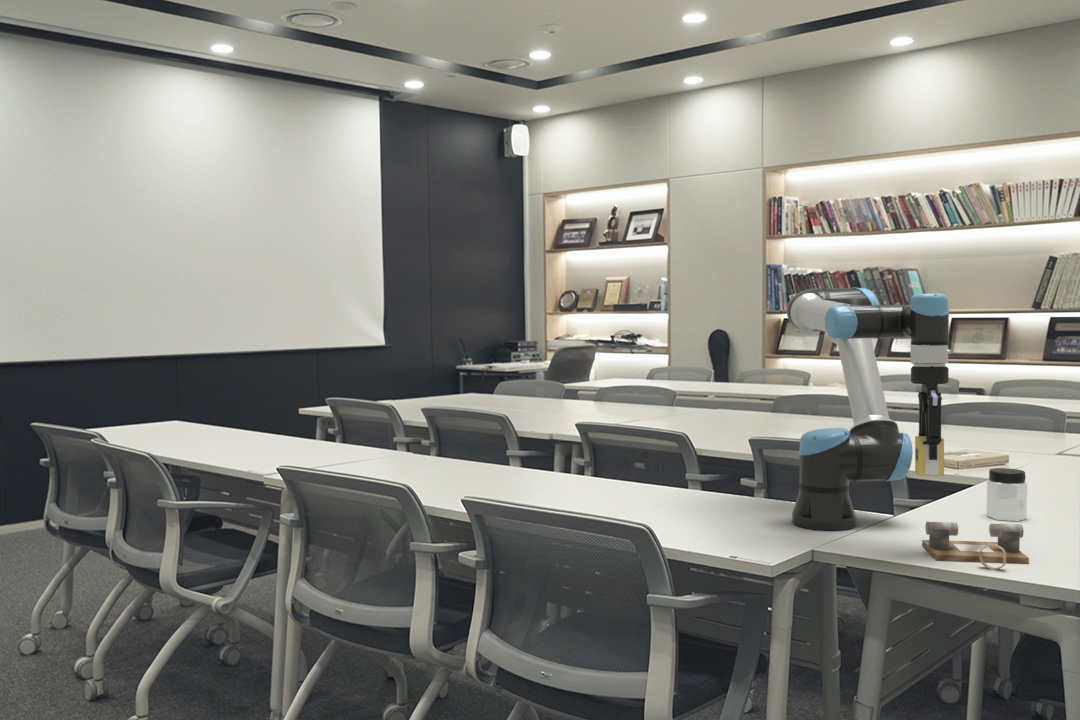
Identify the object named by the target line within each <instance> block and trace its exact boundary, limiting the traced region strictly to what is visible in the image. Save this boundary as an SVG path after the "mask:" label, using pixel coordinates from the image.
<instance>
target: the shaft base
mask: <svg viewBox="0 0 1080 720" xmlns="http://www.w3.org/2000/svg"><path fill="white" fill-rule="evenodd" d="M988 526H989V527H988V530H989V531H988V533H989V535H990V538H997V541H978V540H977V541H973V540H972V541H971V540H969V541H968V540H950V536H951V537H952V536H954V537H957V536H958V535H959V525H958V523H957V522H951V521H950V522H946V521H945V522H944V521H926V522H925V534H926V535H927V536H929V537H928V538H929V539H922V540H921V542H922V544H921V545H922V547H923V548H924V549H925V550H926V551H927V552H928V554H930V556H932V557H933V558H934V559H935V560H936V561H943V562H945V561H946V562H968V563H969V562H975V563H981V561H980V558H979V554H980V551H981V549H982V548H983V547H984V546H986V545H988V544H995V545H998V546H1001V547H1002V548H1003V549H1004V550H1005V552H1006V564H1030V558H1029V557H1028V556H1027V554H1024V553H1023V552H1022V551H1021V550H1020V547H1021V546H1020V543H1021V542H1020V541H1021V539H1022V538H1023V537H1024V527H1023V525H1022V524H1018V523H1017V524H1016V523H1012V524H1011V523H989V525H988ZM1020 538H1021V539H1020ZM982 559H983V561H984V563H997V564H998V563H1003V551H1002V550H1001V549H1000V548H998V547H996V546H987V547H985V548H984V549H983V550H982Z"/></svg>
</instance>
